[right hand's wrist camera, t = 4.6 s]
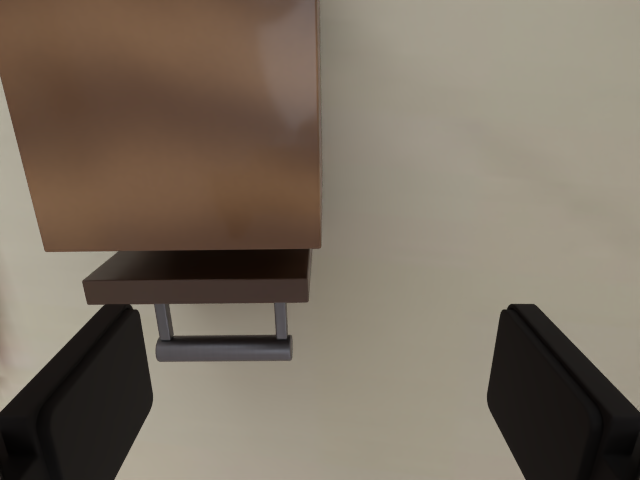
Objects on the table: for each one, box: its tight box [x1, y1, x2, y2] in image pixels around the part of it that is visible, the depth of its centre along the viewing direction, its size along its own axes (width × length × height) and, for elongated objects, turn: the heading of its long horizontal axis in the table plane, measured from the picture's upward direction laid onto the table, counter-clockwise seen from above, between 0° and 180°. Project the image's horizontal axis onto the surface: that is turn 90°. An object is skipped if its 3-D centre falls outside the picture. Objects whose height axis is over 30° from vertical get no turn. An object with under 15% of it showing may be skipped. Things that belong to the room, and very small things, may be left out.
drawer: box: [82, 249, 312, 362], centre depth 21 cm, size 24×10×9 cm, turn 1°
